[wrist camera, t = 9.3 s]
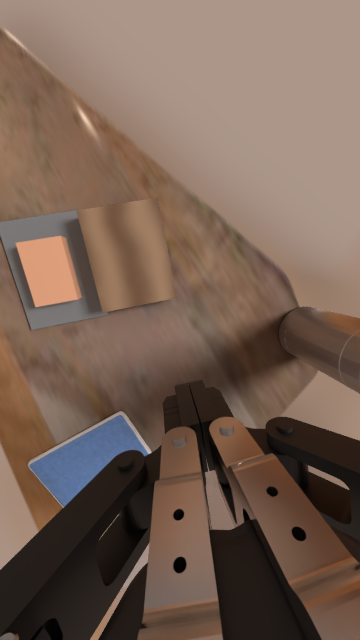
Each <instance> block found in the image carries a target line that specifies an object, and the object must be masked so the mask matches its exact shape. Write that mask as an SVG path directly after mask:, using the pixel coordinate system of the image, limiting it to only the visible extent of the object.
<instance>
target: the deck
mask: <svg viewBox="0 0 360 640" xmlns="http://www.w3.org/2000/svg"><path fill="white" fill-rule="evenodd" d="M76 211H77V215H78V219H79V223H80V227H81V230H82V234H83V238H84V242H85V246H86V250H87V254H88V258H89V262H90V265H91V269H92V273H93V277H94V281H95V285H96V289H97V293H98V296H99V300H100V304H101V308H102V312H108V311H113V310H118V309H123V308H128V307H133V306H138V305H143V304H149V303H154V302H159V301H164V300H169V299H174V298H176V292H175V287H174V281H173V276H172V271H171V265H170V260H169V254H168V249H167V243H166V238H165V233H164V227H163V222H162V216H161V211H160V206H159V200H158V198H152V199H146V200H139V201H133V202H127V203H120V204H114V205H108V206H101V207H95V208H89V209H83V210H76Z"/></svg>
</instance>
